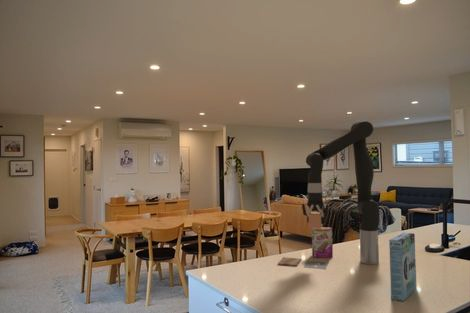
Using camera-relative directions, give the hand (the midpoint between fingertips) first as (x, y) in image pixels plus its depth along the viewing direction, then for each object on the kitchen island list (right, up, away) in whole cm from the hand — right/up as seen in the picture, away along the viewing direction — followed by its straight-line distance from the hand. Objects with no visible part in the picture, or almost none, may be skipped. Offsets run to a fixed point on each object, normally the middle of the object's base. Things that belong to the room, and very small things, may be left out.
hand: (315, 223), depth 190 cm
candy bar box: (+7, -22, +16) cm, 28 cm away
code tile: (0, -21, -1) cm, 21 cm away
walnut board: (-13, -22, +4) cm, 26 cm away
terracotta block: (0, -2, 0) cm, 2 cm away
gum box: (+26, -20, -43) cm, 54 cm away
